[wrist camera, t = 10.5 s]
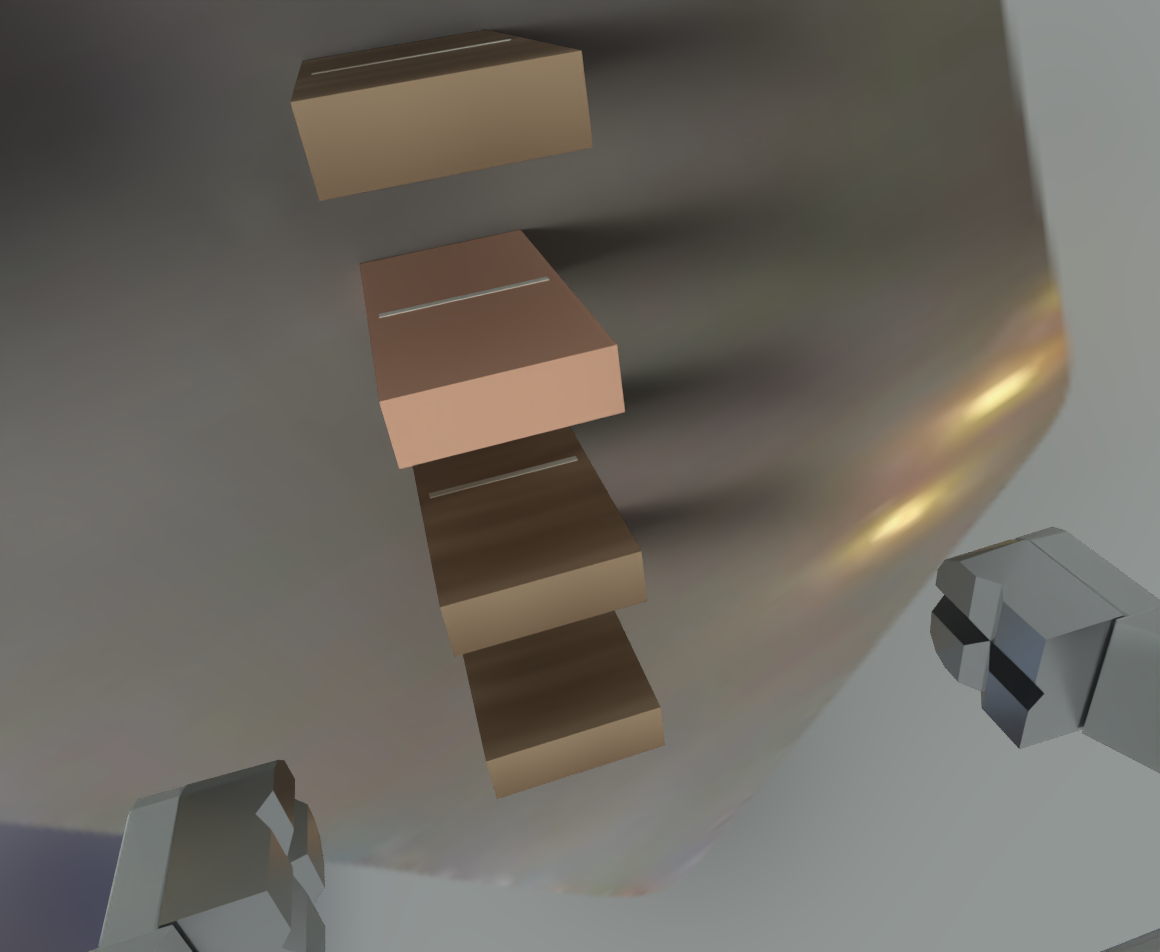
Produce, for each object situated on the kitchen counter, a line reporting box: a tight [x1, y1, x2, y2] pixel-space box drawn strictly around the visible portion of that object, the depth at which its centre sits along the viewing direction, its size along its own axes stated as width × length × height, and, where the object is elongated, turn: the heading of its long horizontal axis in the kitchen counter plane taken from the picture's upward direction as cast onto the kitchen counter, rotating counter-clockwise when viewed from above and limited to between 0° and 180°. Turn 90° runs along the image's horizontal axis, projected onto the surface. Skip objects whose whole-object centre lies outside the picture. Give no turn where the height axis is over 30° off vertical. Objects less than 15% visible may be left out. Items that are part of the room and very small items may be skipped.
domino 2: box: [360, 230, 625, 469], centre depth 21 cm, size 2×5×10 cm, turn 98°
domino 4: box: [463, 611, 665, 799], centre depth 27 cm, size 2×5×10 cm, turn 98°
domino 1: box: [290, 30, 593, 201], centre depth 19 cm, size 2×5×10 cm, turn 98°
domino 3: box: [413, 426, 647, 656], centre depth 24 cm, size 2×5×10 cm, turn 98°
